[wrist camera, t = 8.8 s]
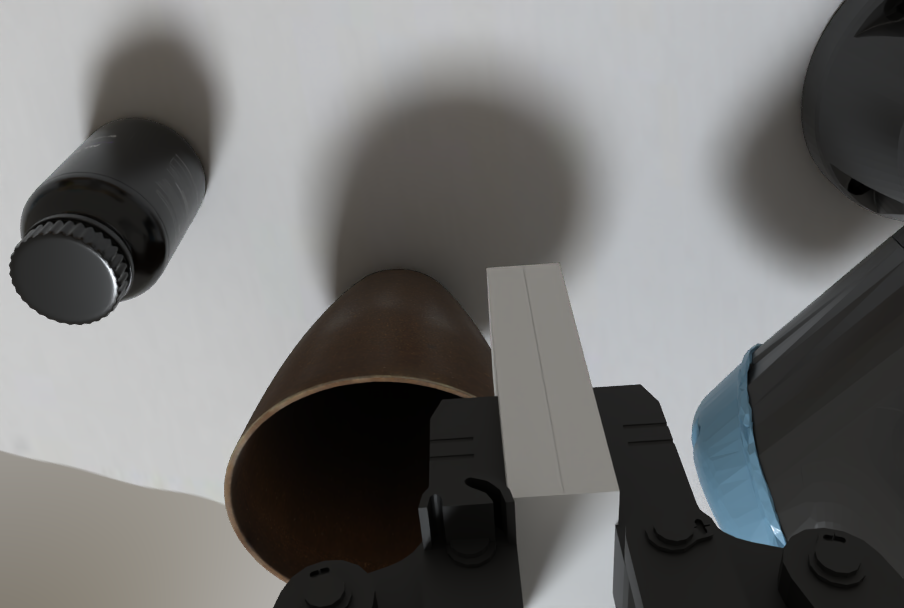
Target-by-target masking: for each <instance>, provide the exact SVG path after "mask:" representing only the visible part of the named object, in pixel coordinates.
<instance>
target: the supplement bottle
mask: <svg viewBox="0 0 904 608" xmlns="http://www.w3.org/2000/svg"><path fill="white" fill-rule="evenodd" d="M204 194H205V176H204V171H203V167H202V165H201V162H200V160H199V158H198V156H197V154H196V153H195V151H194V150H193V148H192V147H191V146H190V145H189V144H188V142H187V141H186V140H184V139H183V138H182V137H181V136H180V135H179V134H178V133H176V132H175V131H173V130H172V129H170V128H168V127H166V126H164V125H162V124H160V123H157V122H154V121H151V120H147V119H140V118H126V119H119V120H115V121H112V122H110V123H107V124H105V125H104V126H102V127H100V128H99V129H98V130H96V131H95V132H94V133H93V134H92V135H91V136H90V137H88V138H87V139H86V140H85V141H84V142H83V143H82V144H81V145H80V146H79V147H78V148H77V149H76V150H75V151H74V152H73V153H72V154H71V155H70V156H69V157H68V158H67V159H66V160H65V161H64V162H63V163H62V164H61V165H60V166H59V167H58V168H57V169H56V170H55V171H54V172H53V173H52V174H51V175H50V176H49V177H48V178H47V179H46V180H45V181H44V182H43V183H42V184H41V185H40V186H39V187H38V188H37V189H36V190H35V192H34V193H33V194H32V195H31V197H30V198H29V199H28V201H27V203H26V204H25V207H24V209H23V212H22V216H21V223H20V231H21V239H22V240H21V241H20V242H19V243H18V244H17V246H16V247H15V250H14V252H13V253H12V255H11V262H10V264H9V267H10V273H9V274H10V276H11V278H12V284H13V285H14V286H15V289H16V292H17V293H18V294H19V295H20V296H21V298H22V300H23V301H24V302H26V303H27V304H28V305H29V307H30V308H32V309H34V310H36V311H37V312H38V313H39V314H40V315H44V316H46V317H47V318H48V319H51V320H55V321H57V322H59V323H66V324H69V325H72V324H77V325H82V324H84V323H85V324H91V323H92V322H93V321H99V320H101V318H103V317H107V316H108V315H109V313H110V312H111V311H113V310H114V309H115V308H116V306H117V305H118V303H119V302H122V301H126V300H129V299H132V298H135V297H137V296H139V295H141V294H143V293H144V292H146V291H147V290H148V289H150V288H151V287H152V286H153V285H154V284H155V283H156V282H157V280H158V279H159V278H160V276H161V275H162V273H163V272H164V270H165V268H166V266H167V265H168V263H169V261H170V259H171V258H172V256H173V254H174V252H175V251H176V249H177V247H178V245H179V244H180V242H181V240H182V238H183V237H184V235H185V233H186V231H187V230H188V228H189V226H190V224H191V223H192V221H193V219H194V217H195V216H196V214H197V212H198V210H199V208H200V206H201V204H202V201H203V198H204Z"/></svg>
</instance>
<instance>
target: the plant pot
mask: <svg viewBox="0 0 904 608" xmlns="http://www.w3.org/2000/svg"><path fill="white" fill-rule="evenodd" d="M488 396H495V393H494V383H493V370H492V353H491V348H490V347H489V345H488V343H487V342H486V340H485V339H484V337H483V335H482V334H481V332H480V331H479V329H478V328H477V326H476V325H475V324H474V322H473V321H472V319H471V318H470V317H469V315H468V314H467V313H466V312H465V311H464V309H463V308H462V307H461V306H460V304H459V303H458V302H457V301H456V300H455V298H454V297H453V296H452V295H451V294H450V293H449V292H448V291H447V290H446V289H445V288H444V287H443V286H442V285H441V284H440V283H438V282H437V281H436V280H434V279H432V278H431V277H429V276H427V275H425V274H422V273H419V272H416V271H411V270H404V269H392V270H384V271H380V272H377V273H373V274H371V275H369V276H367V277H365V278H363V279H362V280H361V281H359V282H358V283H356V284H355V285H354V286H352V287H351V288H350V289H349V290H348V291H347V292H345V293H344V294H343V295H342V296H341V297H340V298H338V299H337V300H336V301H335V302H334V303H333V304H332V305H331V306H330V307H329V308H328V309H327V310H326V311H325V312H324V313H323V314H322V315H321V317H320V318H319V319H318V320H317V321H316V322H315V323H314V324H313V325H312V327H311V328H310V329H309V330H308V331H307V333H306V334H305V335H304V336H303V337H302V339H301V340H300V341H299V343H298V344H297V345H296V347H295V348H294V349H293V351H292V352H291V354H290V355H289V356H288V358H287V359H286V360H285V362H284V363H283V365H282V366H281V368H280V369H279V371H278V372H277V374H276V376H275V377H274V379H273V380H272V382H271V384H270V385H269V387H268V388H267V390H266V392H265V394H264V395H263V397H262V399H261V401H260V402H259V404H258V406H257V407H256V409H255V411H254V413H253V415H252V417H251V419H250V420H249V422H248V424H247V426H246V428H245V430H244V432H243V434H242V435H241V437H240V439H239V441H238V443H237V445H236V447H235V449H234V451H233V453H232V455H231V457H230V460H229V463H228V466H227V470H226V475H225V482H224V497H225V506H226V509H227V513H228V517H229V520H230V522H231V525H232V527H233V529H234V531H235V533H236V534H237V536H238V538H239V540H240V541H241V543H242V544H243V545H244V547H245V548H246V550H247V551H248V552H249V553H250V554H251V555H252V556H253V557H254V558H255V560H256V561H257V562H258V563H259V564H261V565H262V566H263V567H264V568H265V569H266V570H268V571H269V572H270V573H272V574H273V575H275V576H276V577H278V578H279V579H281V580H282V581H284V582H286V583H288V582H289V580H290V579H291V578H292V577H293V576H294V575H296V574H297V573H299V572H300V571H301V570H303V569H304V568H306V567H307V566H310V565H313V564H316V563H319V562H322V561H329V560H344V561H347V562H350V563H353V564H356V565H359V566H360V567H361V568H362V569H363V570H364V571H366V572H367V573H370V572H373V571H376V570H379V569H382V568H385V567H388V566H390V565H392V564H395V563H397V562H399V561H401V560H403V559H404V558H406V557H407V556H408V555H410V554H411V553H413V552H414V551H415V549H416V548H417V547H418V546H419V545H420V544H421V542H422V541H423V540H422V533H421V525H420V518H419V510H418V507H419V504H420V500H421V497H422V494H423V493H424V492H425V491H426V490H427V489H428V488H429V461H430V418H431V417H432V415H433V414H434V412H435V410H436V409H437V407H438V406H439V404H440V402H441V401H442V400H443V399H458V398H473V397H488Z"/></svg>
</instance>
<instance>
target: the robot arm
mask: <svg viewBox="0 0 904 608" xmlns="http://www.w3.org/2000/svg"><path fill="white" fill-rule="evenodd" d="M801 113H802V126H803V132H804V136H805V140H806V143H807V146H808V149H809V151H810V154H811V156H812V158H813V160H814V161H815V163H816V165H817V166H818V168H819V169H820V170H821V172H822V173H823V174H824V175H825V176H826V177H827V178H828V179H829V180H830V181H831V182H832V183H833V184H834V185H835V186H836V187H837V188H838V189H839V190H840V191H841V192H842V193H843V194H845V195H846V196H847V197H848V198H849V199H851V200H852V201H854V202H855V203H856V204H858V205H860V206H862V207H863V208H865V209H867V210H869V211H871V212H873V213H876V214H878V215H881V216H884V217H888V218H891V219H895V220H899V221H904V0H846V1H845V2H844V4H843V5H842V6H841V7H840V9H839V10H838V11H837V13H836V14H835V15H834V17H833V18H832V20H831V21H830V23H829V24H828V26H827V28H826V29H825V31H824V33H823V35H822V36H821V38H820V40H819V42H818V44H817V46H816V49H815V51H814V53H813V56H812V58H811V61H810V64H809V67H808V70H807V74H806V78H805V82H804V87H803V94H802V107H801ZM486 271H487V287H488V304H489V320H490V337H491V353H492V370H493V383H494V393H495V396H488V397H473V398H458V399H443V400H442V401H441V402H440V404H439V406H438V407H437V409H436V410H435V412H434V414H433V415H432V417H431V418H430V461H429V488H428V489H427V490H426V491H425V492H424V493H423V494H422V497H421V500H420V504H419V507H418V510H419V518H420V525H421V533H422V540H423V541H422V542H421V544H420V545H419V546H418V547H417V548H416V549H415V551H414V552H413V553H411V554H410V555H408V556H407V557H406V558H404V559H403V560H401V561H399V562H397V563H395V564H392V565H390V566H388V567H385V568H382V569H379V570H376V571H373V572H370V573H367V572H366V571H364V570H363V569H362V568H361V567H360V566H359V565H356V564H353V563H350V562H347V561H344V560H329V561H322V562H319V563H316V564H313V565H310V566H307V567H306V568H304V569H303V570H301V571H300V572H299V573H297V574H296V575H294V576H293V577H292V578H291V579H290V580H289V582H288V583H287V584H286V586H285V587H284V589H283V590H282V591H281V593H280V595H279V597H278V599H277V601H276V603H275V605H274V607H273V608H615V607H616V608H904V226H903V227H902V228H901V229H899V230H898V231H897V232H896V233H895V234H894V235H892V237H891V236H890V237H889V238H888V239H887V240H886V241H885V242H883V243H882V244H881V245H880V246H879V247H877V248H876V249H875V250H874V251H873V252H871V253H870V254H869V255H868V256H867V257H866V258H864V259H863V260H862V261H861V262H860V263H858V264H857V265H856V266H855V267H854V268H853V269H851V270H850V271H849V272H848V273H847V274H845V275H844V276H843V277H842V278H841V279H839V280H838V281H837V282H836V283H835V284H834V285H832V286H831V287H830V288H829V289H828V290H826V291H825V292H824V293H823V294H822V295H821V296H819V297H818V298H817V299H816V300H815V301H813V302H812V303H811V304H810V305H809V306H807V307H806V308H805V309H804V310H803V311H802V312H800V313H799V314H798V315H797V316H796V317H794V318H793V319H792V320H791V321H790V322H789V323H787V324H786V325H785V326H784V327H783V328H781V329H780V330H779V331H778V332H777V333H775V334H774V335H773V336H772V337H771V338H770V339H768V340H767V341H766V342H765V343H764V344H757V345H755V346H753V347H752V348H751V349H750V350H748V352H747V353H746V354H745V355H744V358H743V360H742V363H741V364H740V365H739V366H737V367H736V368H735V369H734V370H733V371H732V372H731V373H730V374H729V375H728V376H727V377H726V378H725V379H724V380H723V381H722V382H720V383H719V384H718V385H717V386H716V387H715V388H714V389H713V390H712V391H711V392H710V393H709V394H708V395H707V396H706V397H705V398H704V399H703V401H702V402H701V404H700V405H699V407H698V409H697V411H696V414H695V416H694V420H693V425H692V437H691V438H692V444H693V449H694V450H693V455H694V457H693V458H694V463H695V467H696V471H697V474H698V478H699V481H700V484H701V486H702V489H703V492H704V494H705V497H706V499H707V501H708V504H709V506H710V508H711V510H712V513H713V515H714V517H715V519H716V521H717V523H718V525H719V527H720V528H721V530H720V529H719V528H718V527H717V526H716V524H715V523H714V521H713V520H712V518H710V517H709V516H708V515H706V514H705V513H704V512H702V511H701V510H700V509H699V507H698V505H697V503H696V501H695V498H694V495H693V492H692V490H691V487H690V484H689V482H688V479H687V476H686V474H685V471H684V468H683V465H682V463H681V460H680V457H679V455H678V452H677V449H676V447H675V444H674V443H673V438H672V436H671V433H670V430H669V428H668V426H667V422H666V419H665V417H664V414H663V411H662V409H661V406H660V403H659V401H658V400H657V399H655V398H654V397H653V396H652V395H651V394H650V393H649V392H648V391H647V390H646V389H645V388H644V387H643V386H642V385H641V384H639V385H625V386H610V387H595V388H592V384H591V380H590V377H589V373H588V369H587V365H586V361H585V358H584V354H583V350H582V346H581V343H580V339H579V335H578V331H577V327H576V324H575V320H574V316H573V312H572V308H571V305H570V301H569V297H568V293H567V289H566V286H565V282H564V278H563V274H562V270H561V267H560V263H547V264H533V265H519V266H506V267H492V268H486Z"/></svg>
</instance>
